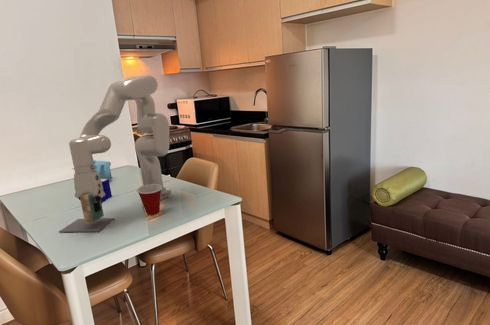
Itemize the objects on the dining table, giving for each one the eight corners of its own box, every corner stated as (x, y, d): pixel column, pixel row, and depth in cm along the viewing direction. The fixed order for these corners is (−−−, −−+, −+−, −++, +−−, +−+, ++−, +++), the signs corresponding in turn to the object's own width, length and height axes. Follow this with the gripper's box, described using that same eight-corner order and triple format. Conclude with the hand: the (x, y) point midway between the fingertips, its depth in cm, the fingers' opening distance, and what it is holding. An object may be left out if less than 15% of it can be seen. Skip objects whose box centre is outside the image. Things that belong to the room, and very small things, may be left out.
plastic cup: (148, 219, 148) (144, 193, 145) (136, 214, 156) (132, 189, 153) (170, 211, 155) (166, 185, 152) (157, 206, 163) (153, 182, 160)
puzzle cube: (101, 203, 176) (97, 184, 174) (84, 203, 178) (80, 185, 176) (112, 196, 186) (108, 178, 183) (95, 196, 188) (92, 179, 185)
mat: (115, 219, 152) (115, 218, 152) (98, 232, 140) (98, 231, 139) (78, 220, 155) (78, 218, 155) (58, 232, 143) (58, 231, 143)
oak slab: (103, 215, 149) (98, 189, 147) (93, 223, 142) (87, 195, 139) (96, 215, 150) (91, 189, 147) (85, 223, 142) (79, 195, 140)
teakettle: (115, 177, 225) (111, 155, 222) (109, 185, 207) (104, 161, 204) (84, 181, 223) (80, 159, 219) (75, 190, 205) (70, 166, 201)
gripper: (108, 165, 143) (116, 207, 147) (72, 167, 146) (81, 208, 150) (97, 170, 136) (106, 214, 140) (60, 172, 139) (69, 215, 143)
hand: (93, 210), depth 145 cm, fingers closed on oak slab, 3 cm apart
